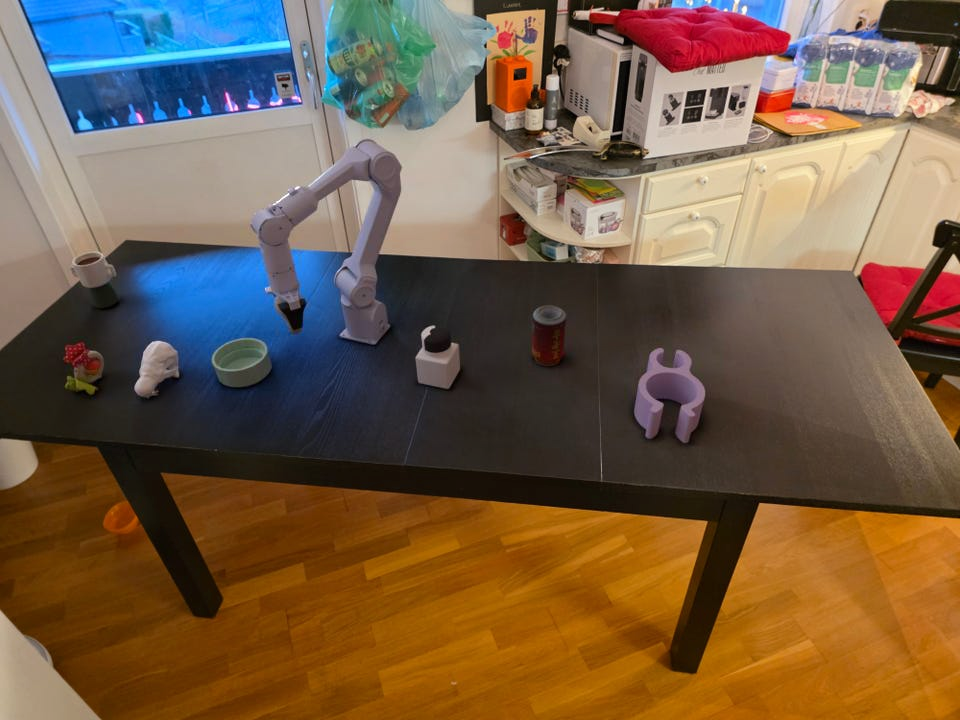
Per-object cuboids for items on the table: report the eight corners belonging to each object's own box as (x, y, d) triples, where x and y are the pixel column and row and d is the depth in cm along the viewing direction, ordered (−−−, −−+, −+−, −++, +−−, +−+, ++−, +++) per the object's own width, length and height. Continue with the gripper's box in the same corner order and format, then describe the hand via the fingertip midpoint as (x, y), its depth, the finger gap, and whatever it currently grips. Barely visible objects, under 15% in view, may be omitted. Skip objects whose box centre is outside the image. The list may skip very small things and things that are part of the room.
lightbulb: (303, 343, 143) (293, 300, 136) (277, 340, 144) (266, 298, 137) (314, 326, 148) (305, 285, 141) (289, 324, 149) (278, 282, 142)
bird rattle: (89, 383, 146) (57, 396, 138) (84, 335, 144) (51, 344, 135) (114, 386, 145) (84, 399, 137) (110, 338, 143) (78, 347, 134)
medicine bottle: (460, 369, 144) (458, 324, 136) (448, 390, 138) (445, 344, 131) (430, 363, 146) (426, 318, 138) (417, 383, 140) (412, 338, 133)
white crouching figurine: (174, 338, 141) (143, 377, 132) (188, 366, 146) (159, 406, 138) (147, 335, 142) (115, 374, 133) (162, 363, 148) (132, 403, 139)
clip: (635, 371, 142) (639, 345, 137) (695, 377, 140) (701, 351, 135) (633, 436, 126) (638, 410, 122) (700, 445, 124) (707, 418, 120)
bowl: (282, 361, 147) (278, 344, 144) (251, 394, 139) (245, 376, 136) (240, 351, 151) (234, 333, 148) (206, 382, 143) (200, 364, 139)
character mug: (134, 295, 171) (116, 251, 163) (122, 311, 165) (102, 266, 157) (93, 295, 171) (73, 251, 163) (80, 311, 166) (58, 266, 158)
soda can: (547, 344, 150) (550, 299, 142) (570, 358, 146) (573, 313, 138) (524, 356, 147) (525, 311, 139) (546, 372, 142) (549, 326, 135)
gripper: (251, 256, 139) (266, 309, 147) (269, 288, 129) (284, 343, 137) (284, 247, 141) (297, 300, 150) (304, 278, 131) (317, 333, 140)
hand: (293, 320), depth 144 cm, fingers closed on lightbulb, 6 cm apart
